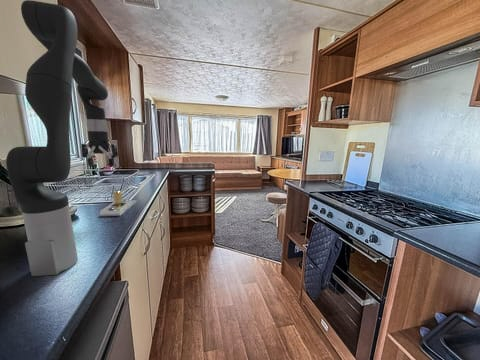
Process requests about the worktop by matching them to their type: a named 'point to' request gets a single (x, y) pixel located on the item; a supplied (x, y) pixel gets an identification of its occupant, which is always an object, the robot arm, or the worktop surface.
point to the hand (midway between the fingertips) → (101, 166)
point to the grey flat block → (117, 208)
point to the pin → (117, 198)
